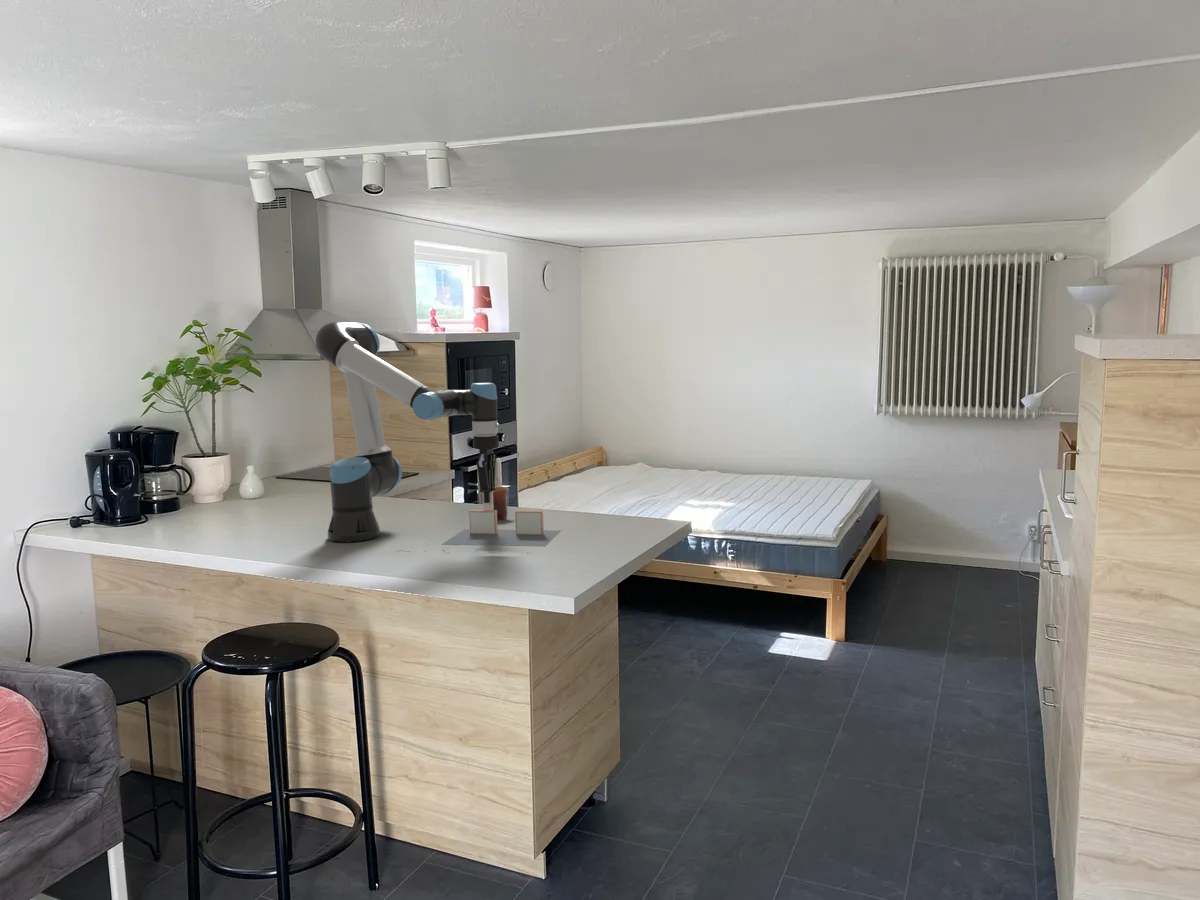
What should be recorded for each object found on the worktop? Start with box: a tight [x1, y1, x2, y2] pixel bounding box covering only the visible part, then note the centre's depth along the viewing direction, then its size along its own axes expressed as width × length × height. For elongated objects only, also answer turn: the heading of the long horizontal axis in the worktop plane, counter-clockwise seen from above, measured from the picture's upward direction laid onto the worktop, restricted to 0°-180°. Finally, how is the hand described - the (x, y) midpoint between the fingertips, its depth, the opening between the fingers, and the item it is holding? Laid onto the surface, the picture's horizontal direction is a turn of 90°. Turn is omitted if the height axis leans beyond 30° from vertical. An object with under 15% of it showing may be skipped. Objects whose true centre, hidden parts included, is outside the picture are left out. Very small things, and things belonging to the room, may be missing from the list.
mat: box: [441, 528, 561, 547], centre depth 252 cm, size 30×20×1 cm, turn 80°
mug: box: [481, 486, 509, 521], centre depth 281 cm, size 12×9×10 cm
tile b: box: [514, 509, 545, 535], centre depth 255 cm, size 8×2×7 cm, turn 80°
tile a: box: [468, 509, 499, 535], centre depth 257 cm, size 8×2×7 cm, turn 80°
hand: (488, 512), depth 262 cm, fingers closed
